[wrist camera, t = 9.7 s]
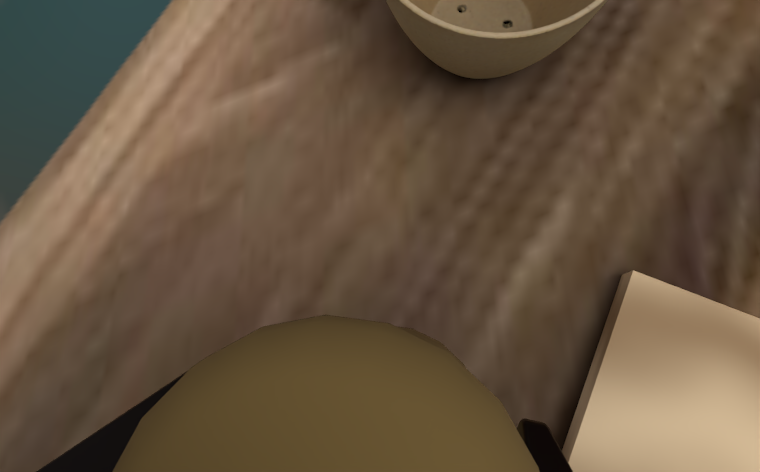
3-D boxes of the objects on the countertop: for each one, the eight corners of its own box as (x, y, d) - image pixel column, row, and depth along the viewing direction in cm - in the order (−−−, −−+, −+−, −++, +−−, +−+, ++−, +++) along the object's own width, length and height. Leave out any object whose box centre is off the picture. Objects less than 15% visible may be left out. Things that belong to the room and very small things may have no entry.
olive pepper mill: (443, 298, 16) (489, 177, 5) (519, 497, 14) (816, 935, 4) (262, 362, 16) (-80, 380, 5) (319, 570, 14) (7, 1225, 4)
